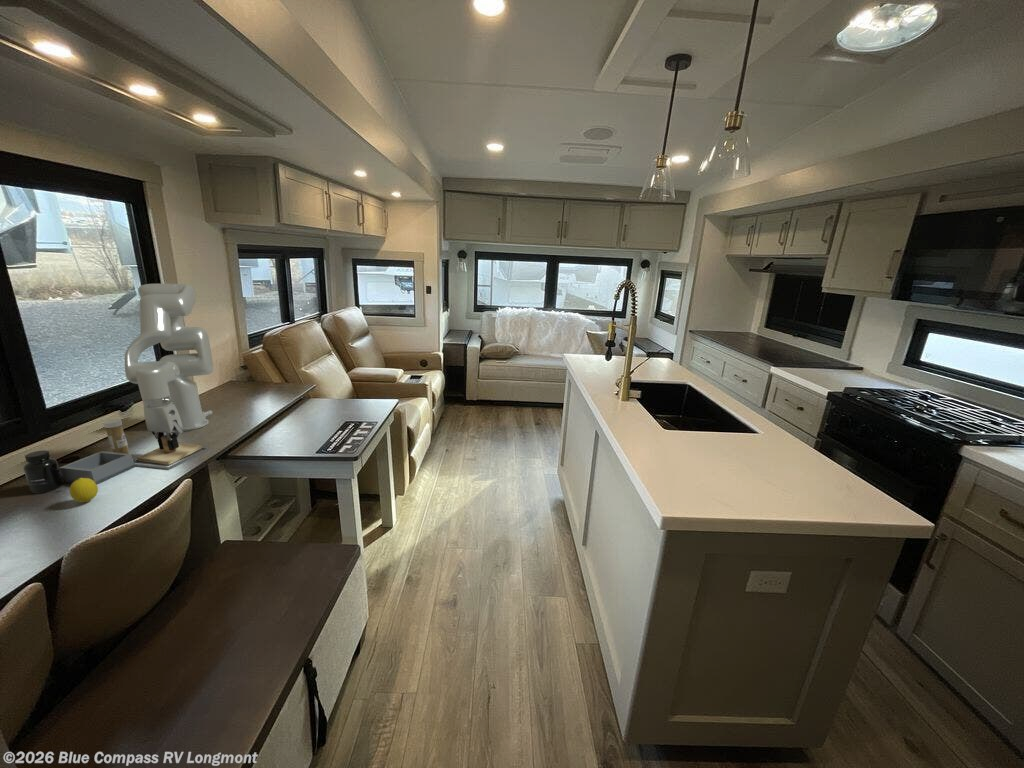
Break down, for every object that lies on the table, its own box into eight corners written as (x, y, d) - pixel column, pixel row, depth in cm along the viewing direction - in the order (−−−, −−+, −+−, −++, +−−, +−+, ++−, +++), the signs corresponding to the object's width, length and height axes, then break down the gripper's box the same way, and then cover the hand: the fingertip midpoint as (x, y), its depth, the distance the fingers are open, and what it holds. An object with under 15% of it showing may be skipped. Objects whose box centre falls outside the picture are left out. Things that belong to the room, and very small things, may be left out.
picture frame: (172, 444, 155) (172, 443, 155) (211, 448, 153) (211, 447, 153) (126, 465, 139) (126, 464, 139) (168, 469, 137) (168, 468, 137)
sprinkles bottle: (128, 455, 146) (119, 421, 142) (111, 458, 144) (101, 424, 140) (131, 450, 150) (122, 417, 146) (114, 453, 147) (105, 419, 143)
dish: (105, 464, 140) (101, 451, 138) (134, 467, 138) (131, 454, 137) (63, 481, 128) (59, 467, 127) (95, 485, 127) (91, 471, 125)
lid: (173, 444, 154) (168, 427, 151) (202, 448, 152) (198, 430, 149) (137, 460, 142) (132, 442, 139) (169, 464, 140) (164, 446, 137)
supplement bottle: (34, 496, 120) (21, 460, 117) (29, 489, 124) (16, 454, 120) (67, 486, 126) (55, 452, 122) (61, 480, 129) (49, 446, 126)
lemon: (86, 497, 121) (78, 473, 118) (106, 496, 121) (98, 473, 119) (68, 507, 115) (60, 483, 113) (89, 507, 116) (81, 482, 113)
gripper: (187, 399, 143) (198, 445, 148) (148, 396, 145) (160, 441, 150) (167, 407, 136) (179, 455, 141) (126, 403, 138) (139, 450, 143)
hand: (169, 447), depth 146 cm, fingers closed on lid, 3 cm apart
